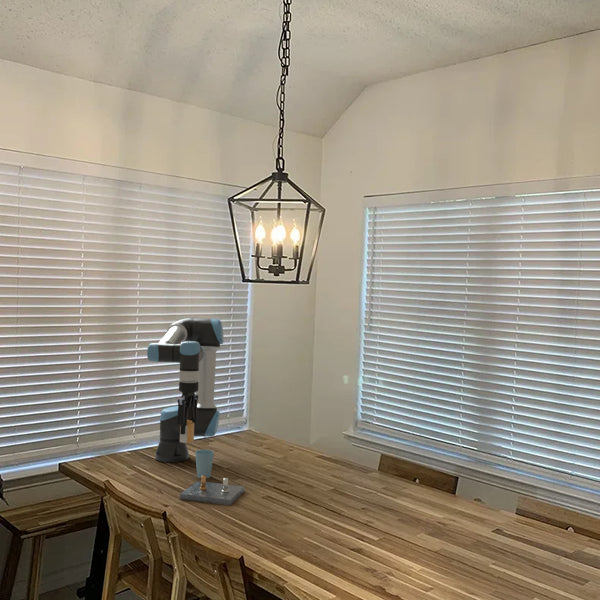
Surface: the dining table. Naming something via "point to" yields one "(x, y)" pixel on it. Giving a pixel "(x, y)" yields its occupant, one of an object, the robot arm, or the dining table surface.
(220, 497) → the junction plate
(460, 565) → the dining table surface
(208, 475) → the cup
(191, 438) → the wooden jar
